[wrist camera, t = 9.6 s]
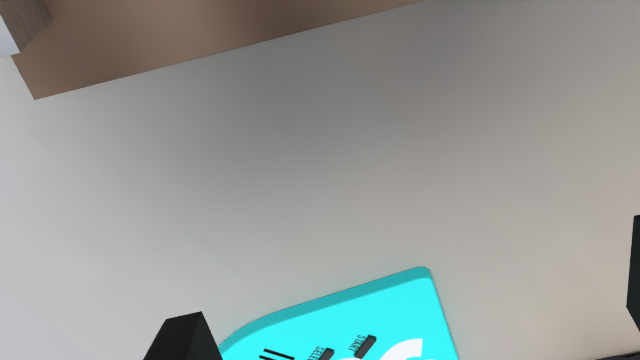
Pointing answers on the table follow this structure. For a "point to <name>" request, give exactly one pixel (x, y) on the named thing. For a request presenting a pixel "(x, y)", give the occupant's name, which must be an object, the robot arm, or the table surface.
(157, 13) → the track board
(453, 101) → the table surface
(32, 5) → the outer rail
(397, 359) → the handheld game console
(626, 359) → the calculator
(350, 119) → the table surface
